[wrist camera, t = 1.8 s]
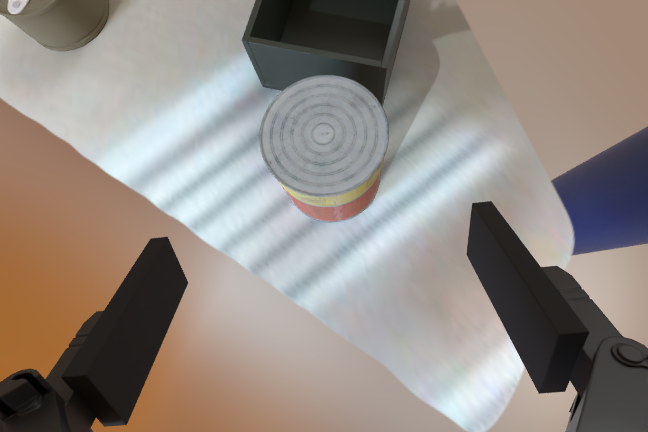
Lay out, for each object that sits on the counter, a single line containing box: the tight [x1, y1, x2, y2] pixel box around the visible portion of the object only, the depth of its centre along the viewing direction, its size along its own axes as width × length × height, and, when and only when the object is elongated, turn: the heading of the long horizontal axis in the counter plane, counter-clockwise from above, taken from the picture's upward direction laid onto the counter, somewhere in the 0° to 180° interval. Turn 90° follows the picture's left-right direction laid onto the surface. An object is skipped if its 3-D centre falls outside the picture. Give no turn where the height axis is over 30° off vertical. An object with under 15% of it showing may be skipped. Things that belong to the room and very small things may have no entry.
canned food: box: [260, 75, 389, 222], centre depth 38 cm, size 11×11×12 cm
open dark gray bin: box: [242, 0, 410, 106], centre depth 43 cm, size 15×15×9 cm
